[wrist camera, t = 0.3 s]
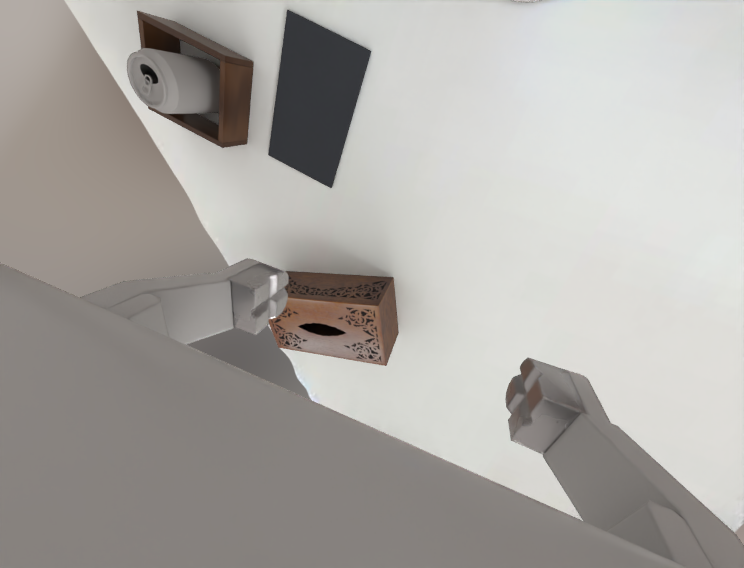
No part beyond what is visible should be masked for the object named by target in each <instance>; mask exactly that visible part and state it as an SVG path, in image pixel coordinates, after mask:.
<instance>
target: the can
mask: <svg viewBox="0 0 744 568" xmlns="http://www.w3.org/2000/svg"><path fill="white" fill-rule="evenodd" d="M127 73H128V77H129V80H130V83H131V86H132V87H133V89H134V91H135V93H136V94H137V96H138V97H139V98H140V100H141V101H143V102H144V103H145V104H146V105H147V106H149V107H151V108H155V109H156V110H158V111H160V112H161V113H166V114H193V113H219V91H220V70H219V68H218V67H217V66H216V65H215V64H214V63H213V62H211V61H209V60H207V59H204V58H199V57H193V56H188V55H183V54H177V53H172V52H166V51H161V50H156V49H150V48H142V49H140V50H139V51H138V52H134V53H132V54H131V55H130V56H129V58H128V60H127Z"/></svg>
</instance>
